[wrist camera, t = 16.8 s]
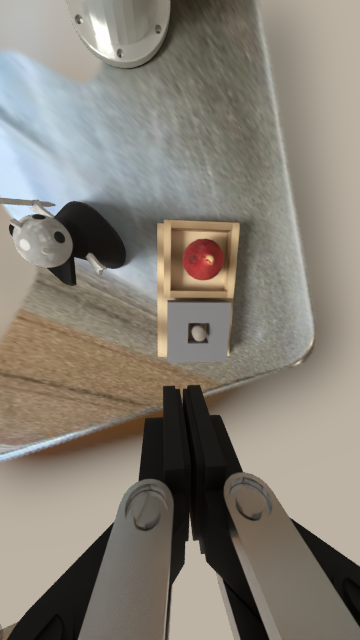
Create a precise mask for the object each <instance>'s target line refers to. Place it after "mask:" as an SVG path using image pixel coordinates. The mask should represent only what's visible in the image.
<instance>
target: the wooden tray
mask: <svg viewBox="0 0 360 640" xmlns="http://www.w3.org/2000/svg"><path fill="white" fill-rule="evenodd" d="M239 225H240V223H230V222H207V221H183V220H164V223H157V280H158V357H167V300H227V301H229V302H231V315H230V327H229V339H228V351H227V356H229V349H230V337H231V325H232V314H233V302H234V290H235V279H236V267H237V255H238V244H239V232H240V226H239ZM197 239H210V240H213V241H215V242H216V243H217V244H218V245H219V246H220V248H221V249H222V251H223V257H224V262H223V266H222V269H221V270H220V272H219V273H218V275H217V276H215V277H214V278H212V279H210V280H203V281H202V280H197V279H194V278H193V277H191V276H190V275H189V274H188V273H187V272H186V270H185V269H184V265H183V255H184V251H185V249H186V248H187V247H188V246H189V244H190V243H192V242H193V241H195V240H197ZM205 338H206V323H188V339H195V340H196V341H203V340H204V339H205Z"/></svg>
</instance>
